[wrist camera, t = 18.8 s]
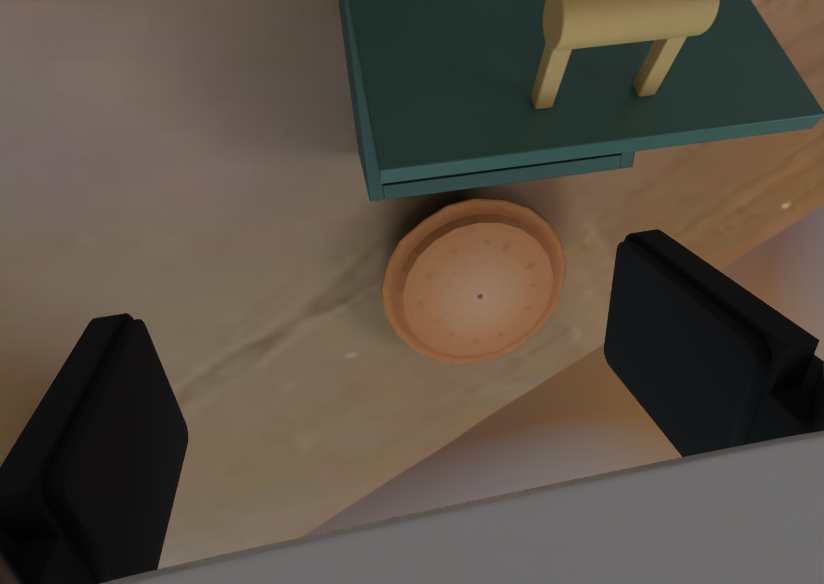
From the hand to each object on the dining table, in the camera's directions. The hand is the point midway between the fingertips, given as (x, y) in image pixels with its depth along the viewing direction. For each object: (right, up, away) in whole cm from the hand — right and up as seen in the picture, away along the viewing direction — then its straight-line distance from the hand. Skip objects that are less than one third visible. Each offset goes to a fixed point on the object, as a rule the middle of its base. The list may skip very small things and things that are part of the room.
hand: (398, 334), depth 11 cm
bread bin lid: (+6, +12, +12) cm, 18 cm away
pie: (+5, +3, +37) cm, 37 cm away
